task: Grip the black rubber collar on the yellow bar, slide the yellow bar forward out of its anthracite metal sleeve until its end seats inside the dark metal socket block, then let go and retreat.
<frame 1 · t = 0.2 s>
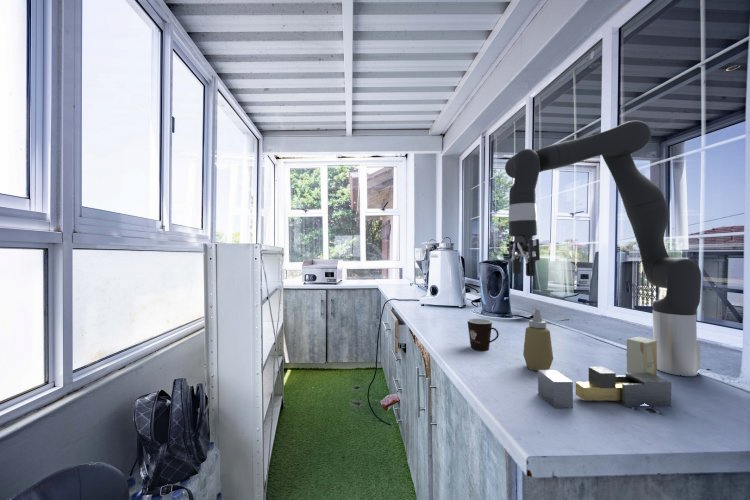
hand: (523, 274, 90), 29 cm above the worktop, tool pointing down, fingers open, 8 cm apart
sleeve: (638, 400, 72), on the worktop
socket: (554, 400, 73), on the worktop
squeeze bottle: (538, 369, 93), on the worktop
yellow bar: (617, 383, 73), point 4 cm above the worktop, slide at 0.0 cm
coffee mug: (481, 350, 111), on the worktop
skincare box: (642, 386, 80), on the worktop
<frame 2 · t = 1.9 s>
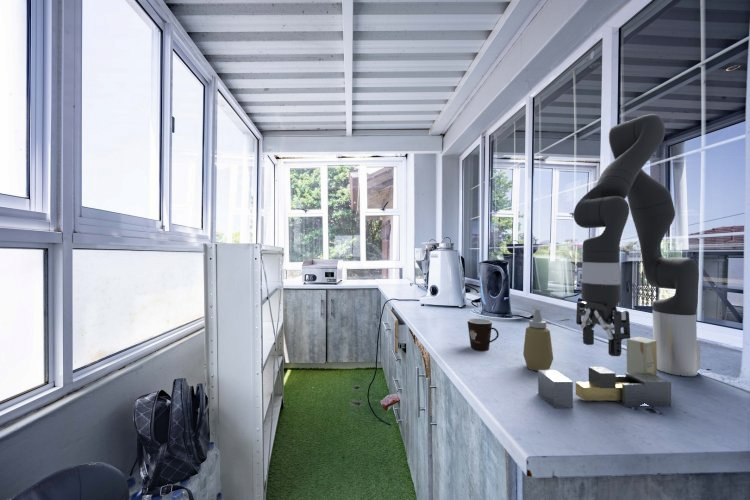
hand: (600, 349, 73), 12 cm above the worktop, tool pointing down, fingers open, 8 cm apart
nothing on the worktop moved.
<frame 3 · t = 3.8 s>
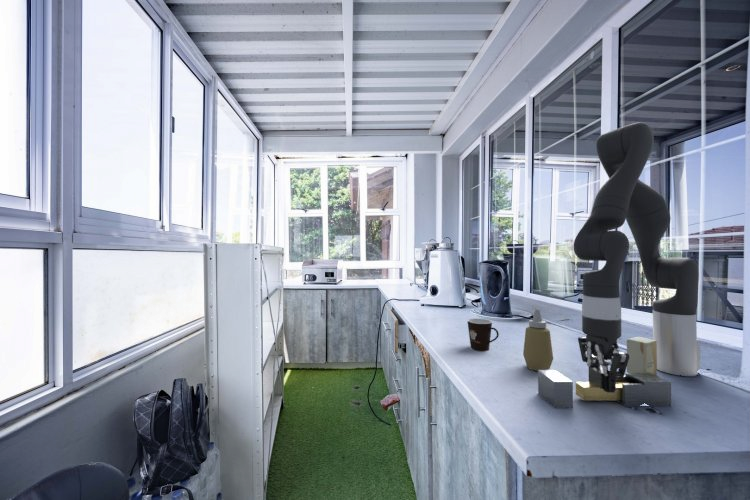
hand: (601, 386, 73), 3 cm above the worktop, tool pointing down, fingers closed on yellow bar, 4 cm apart
yellow bar: (617, 383, 73), point 4 cm above the worktop, slide at 0.0 cm, touching gripper
everything else where it was.
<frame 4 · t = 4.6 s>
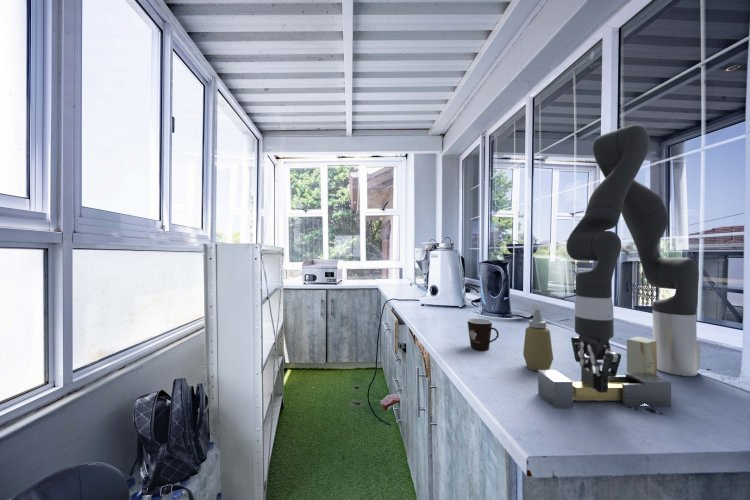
hand: (594, 386, 73), 3 cm above the worktop, tool pointing down, fingers closed on yellow bar, 4 cm apart
yellow bar: (610, 383, 73), point 4 cm above the worktop, slide at 1.8 cm, touching gripper
everything else where it was.
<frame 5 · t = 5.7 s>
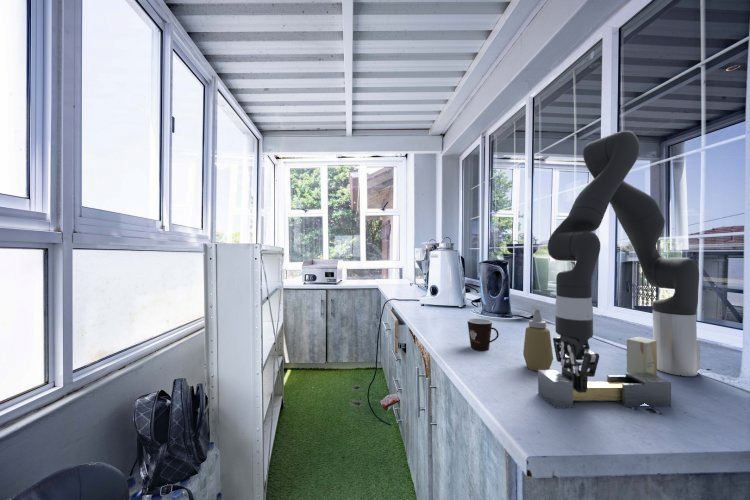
hand: (574, 386, 73), 3 cm above the worktop, tool pointing down, fingers closed on yellow bar, 4 cm apart
yellow bar: (590, 383, 73), point 4 cm above the worktop, slide at 6.5 cm, touching gripper
everything else where it was.
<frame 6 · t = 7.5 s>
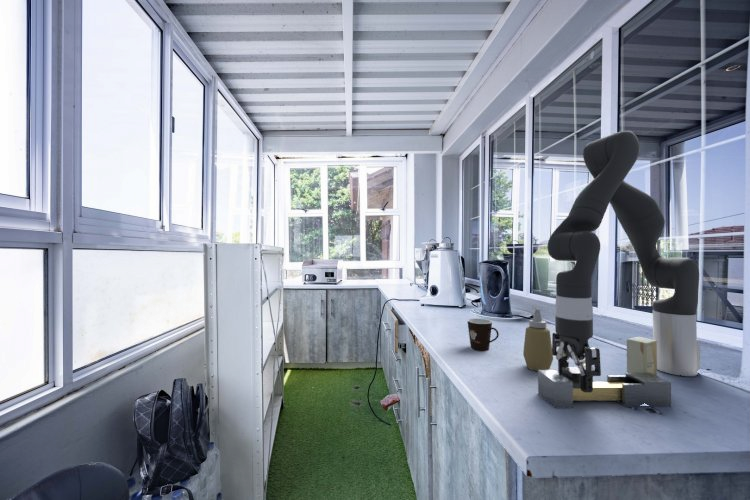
hand: (574, 383, 73), 4 cm above the worktop, tool pointing down, fingers open, 8 cm apart
yellow bar: (590, 383, 73), point 4 cm above the worktop, slide at 6.5 cm
everything else where it was.
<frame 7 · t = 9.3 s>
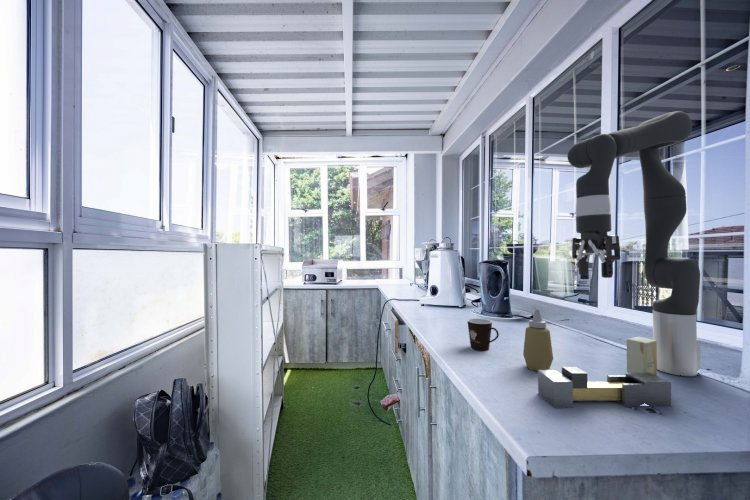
hand: (594, 276, 80), 29 cm above the worktop, tool pointing down, fingers open, 8 cm apart
nothing on the worktop moved.
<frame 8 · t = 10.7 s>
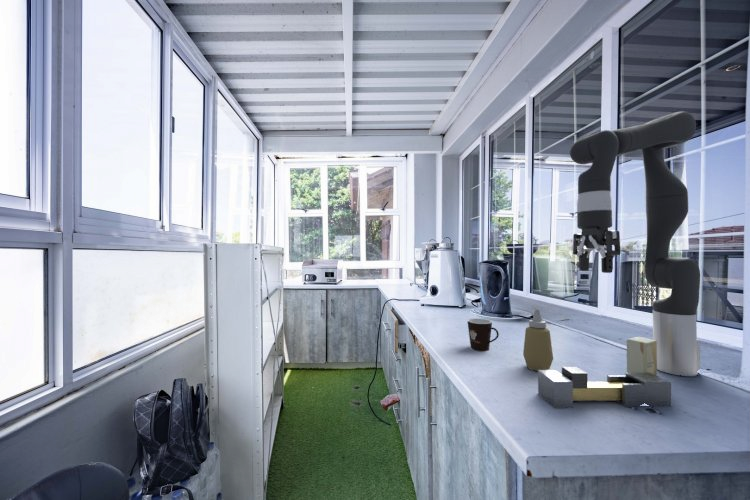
hand: (594, 271, 81), 30 cm above the worktop, tool pointing down, fingers open, 8 cm apart
nothing on the worktop moved.
at the end: yellow bar slide at 6.5 cm; the gripper is holding nothing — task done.
